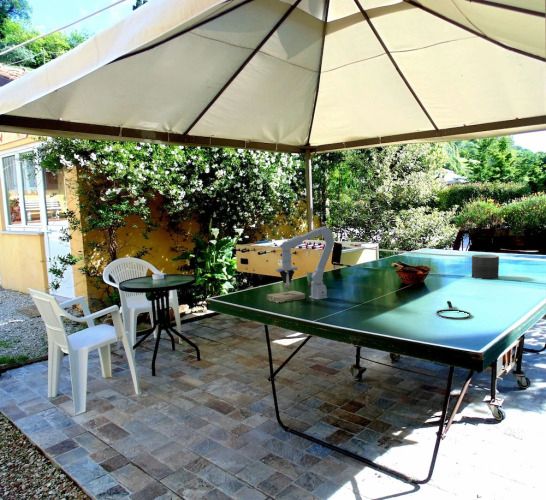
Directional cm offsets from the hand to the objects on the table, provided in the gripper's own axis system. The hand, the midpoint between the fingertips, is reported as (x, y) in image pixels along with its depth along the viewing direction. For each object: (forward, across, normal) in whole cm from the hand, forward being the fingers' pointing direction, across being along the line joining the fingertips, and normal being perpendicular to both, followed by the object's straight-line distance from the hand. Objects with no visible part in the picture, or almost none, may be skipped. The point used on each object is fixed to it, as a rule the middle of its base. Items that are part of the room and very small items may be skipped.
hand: (287, 282), depth 273 cm
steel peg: (+3, 0, 0) cm, 3 cm away
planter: (+10, -152, +28) cm, 155 cm away
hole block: (+10, +2, +2) cm, 10 cm away
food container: (+10, -34, -21) cm, 41 cm away
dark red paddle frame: (+10, -51, +80) cm, 95 cm away
